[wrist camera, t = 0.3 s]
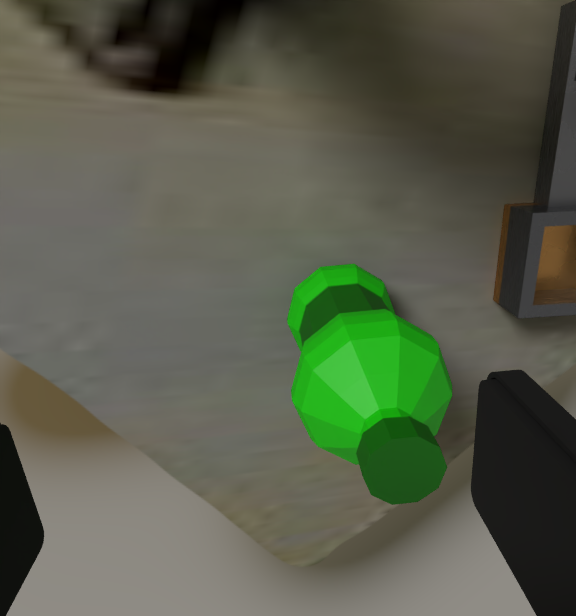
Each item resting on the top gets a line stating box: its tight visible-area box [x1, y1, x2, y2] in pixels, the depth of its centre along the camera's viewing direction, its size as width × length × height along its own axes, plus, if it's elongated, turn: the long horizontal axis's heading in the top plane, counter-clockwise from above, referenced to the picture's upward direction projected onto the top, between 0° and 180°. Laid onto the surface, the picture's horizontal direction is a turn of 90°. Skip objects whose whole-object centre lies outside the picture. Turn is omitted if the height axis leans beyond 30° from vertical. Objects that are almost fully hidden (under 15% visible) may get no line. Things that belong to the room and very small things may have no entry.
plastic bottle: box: [287, 264, 452, 505], centre depth 35 cm, size 10×10×25 cm
